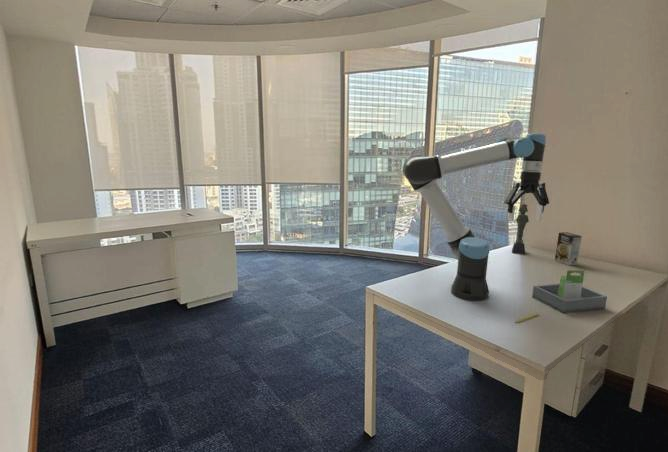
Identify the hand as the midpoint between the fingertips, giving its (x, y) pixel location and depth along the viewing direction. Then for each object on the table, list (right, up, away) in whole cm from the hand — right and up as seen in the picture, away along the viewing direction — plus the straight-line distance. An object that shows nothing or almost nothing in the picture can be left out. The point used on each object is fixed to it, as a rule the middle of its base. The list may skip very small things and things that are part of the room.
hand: (524, 220), depth 165 cm
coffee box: (+44, -23, +42) cm, 65 cm away
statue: (+27, -18, +61) cm, 69 cm away
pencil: (-13, -37, -26) cm, 47 cm away
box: (+12, -34, -11) cm, 38 cm away
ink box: (+12, -33, -11) cm, 37 cm away
